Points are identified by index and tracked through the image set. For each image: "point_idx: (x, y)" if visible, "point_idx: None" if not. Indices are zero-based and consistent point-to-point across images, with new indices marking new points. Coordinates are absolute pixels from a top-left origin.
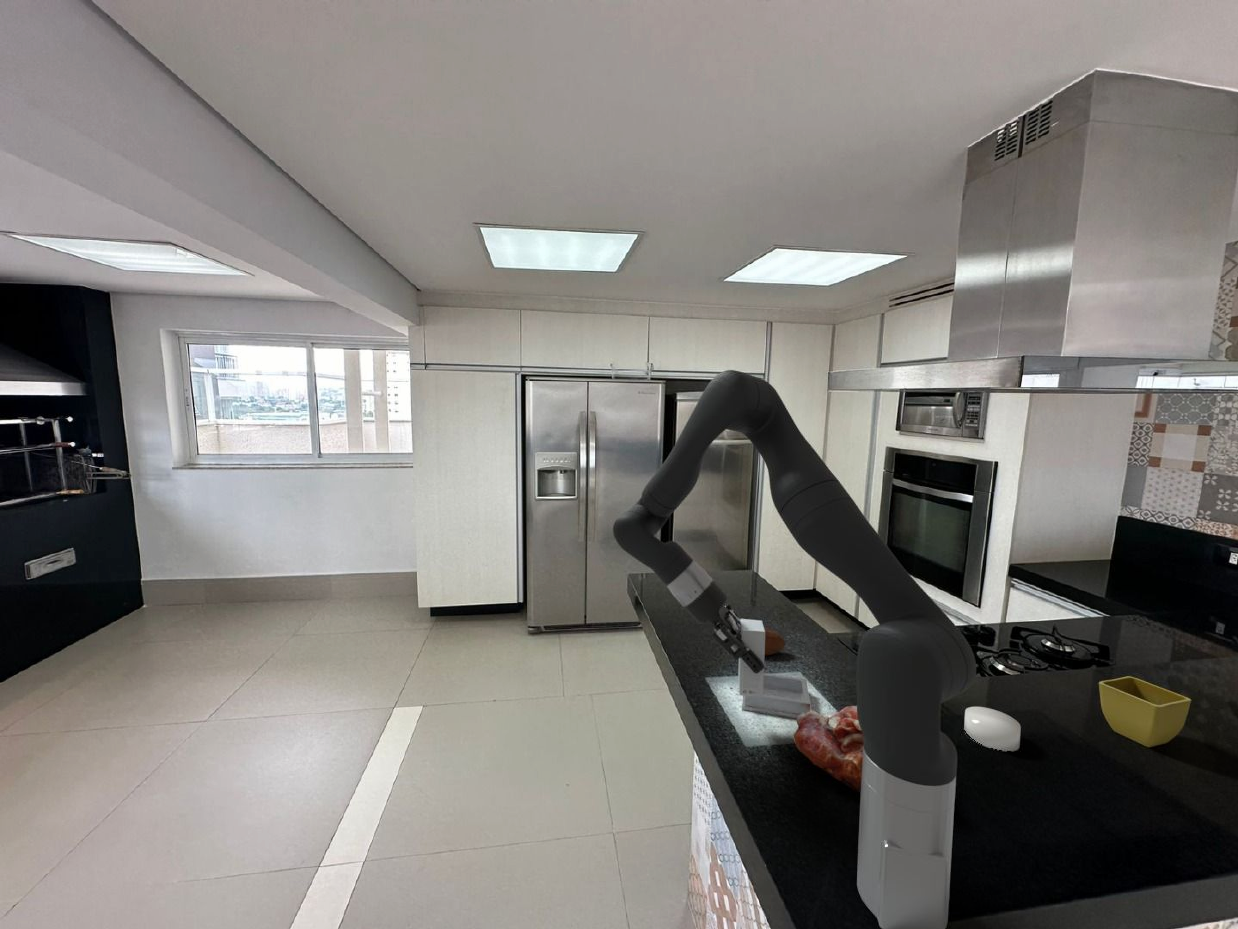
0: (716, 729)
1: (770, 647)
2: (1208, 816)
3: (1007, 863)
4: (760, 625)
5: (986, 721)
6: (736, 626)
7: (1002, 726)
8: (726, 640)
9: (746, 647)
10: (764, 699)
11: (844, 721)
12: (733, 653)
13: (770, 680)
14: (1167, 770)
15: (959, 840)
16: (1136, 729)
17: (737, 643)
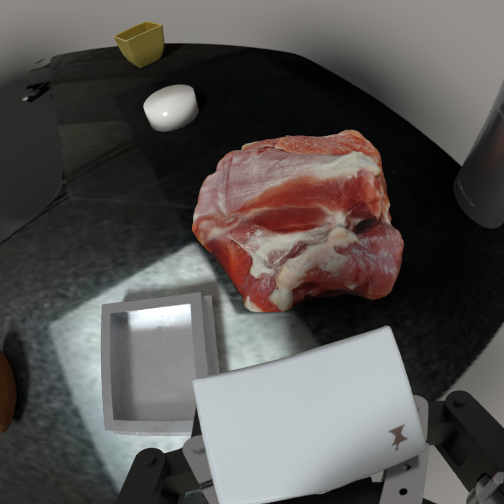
0: None
1: (5, 371)
2: (238, 49)
3: (382, 127)
4: (296, 375)
5: (175, 101)
6: (399, 492)
7: (182, 92)
8: (485, 473)
9: (427, 407)
10: None
11: (375, 189)
12: (464, 438)
13: (115, 379)
14: (188, 54)
15: (381, 149)
16: (155, 51)
17: (493, 422)
